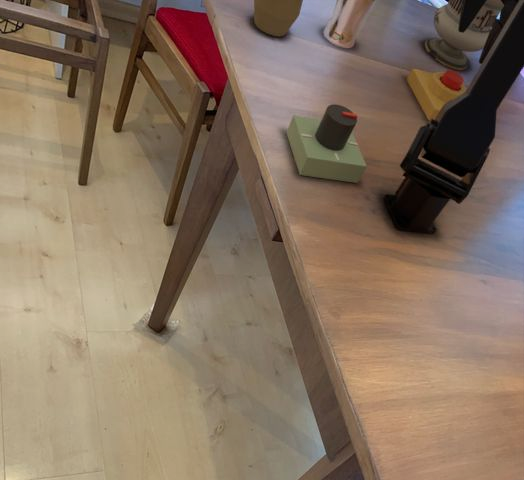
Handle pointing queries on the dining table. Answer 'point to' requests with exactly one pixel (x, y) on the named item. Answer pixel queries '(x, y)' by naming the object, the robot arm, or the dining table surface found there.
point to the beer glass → (346, 21)
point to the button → (452, 80)
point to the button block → (431, 91)
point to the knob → (336, 127)
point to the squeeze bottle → (276, 15)
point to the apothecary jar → (457, 41)
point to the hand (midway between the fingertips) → (470, 47)
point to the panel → (323, 153)
